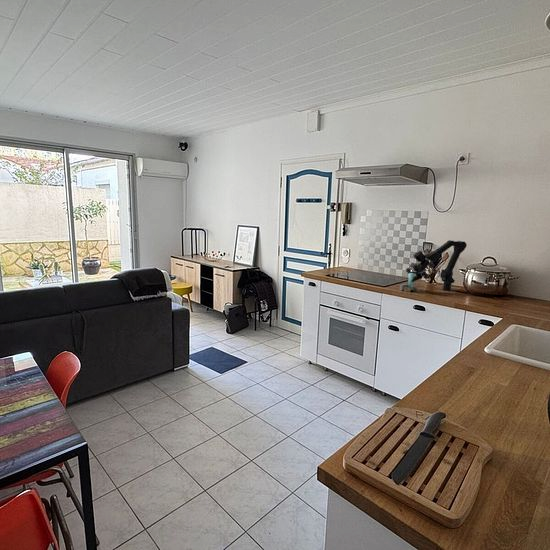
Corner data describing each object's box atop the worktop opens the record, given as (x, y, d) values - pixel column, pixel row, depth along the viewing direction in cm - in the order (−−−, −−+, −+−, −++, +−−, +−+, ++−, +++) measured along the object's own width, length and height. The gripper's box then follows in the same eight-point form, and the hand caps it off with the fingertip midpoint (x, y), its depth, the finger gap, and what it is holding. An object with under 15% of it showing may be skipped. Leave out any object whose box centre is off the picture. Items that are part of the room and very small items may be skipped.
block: (416, 291, 269) (417, 287, 268) (409, 292, 264) (409, 288, 264) (410, 289, 274) (410, 285, 273) (402, 290, 269) (403, 286, 268)
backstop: (410, 289, 274) (410, 283, 273) (401, 290, 269) (402, 284, 268) (408, 288, 276) (408, 283, 275) (399, 290, 271) (400, 284, 270)
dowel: (408, 288, 271) (409, 272, 269) (413, 289, 269) (415, 273, 267) (407, 289, 267) (408, 273, 265) (412, 290, 265) (414, 274, 263)
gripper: (408, 257, 274) (395, 272, 272) (426, 260, 257) (413, 276, 255) (415, 267, 278) (403, 281, 276) (433, 270, 261) (420, 286, 259)
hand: (409, 281), depth 267 cm, fingers closed on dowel, 4 cm apart
